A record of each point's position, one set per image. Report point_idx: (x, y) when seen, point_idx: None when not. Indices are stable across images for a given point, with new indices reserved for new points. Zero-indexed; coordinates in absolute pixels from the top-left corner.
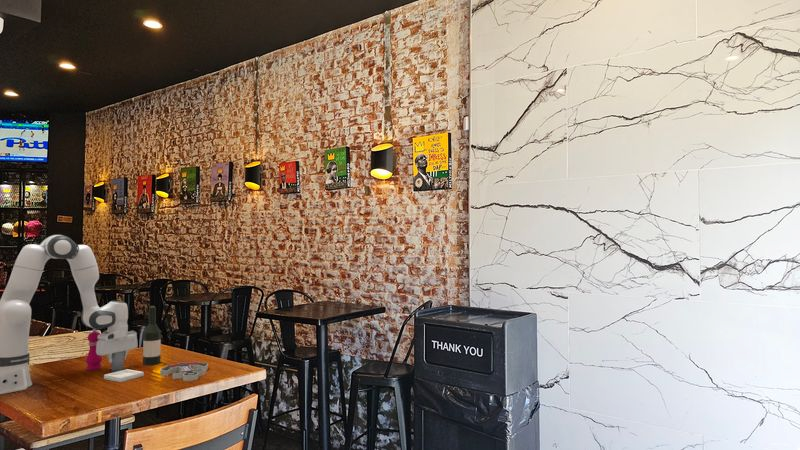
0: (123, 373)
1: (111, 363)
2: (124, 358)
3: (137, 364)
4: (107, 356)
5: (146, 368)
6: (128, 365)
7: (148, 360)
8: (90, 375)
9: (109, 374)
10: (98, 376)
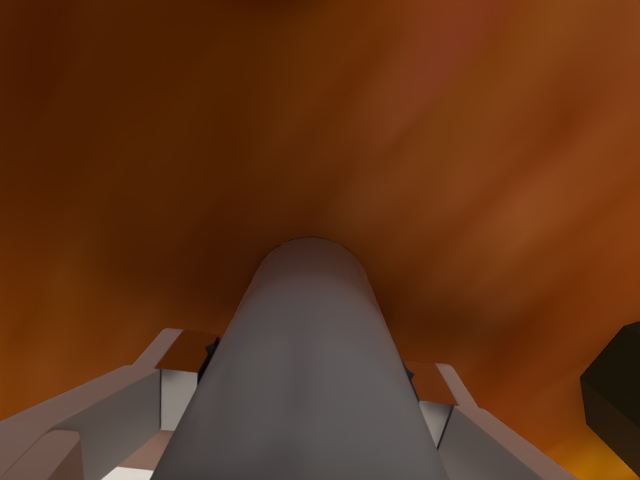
0: None
1: (237, 308)
2: None
3: (613, 278)
4: (23, 441)
5: None
6: (556, 219)
7: (632, 447)
8: (33, 182)
9: None
10: (61, 299)
